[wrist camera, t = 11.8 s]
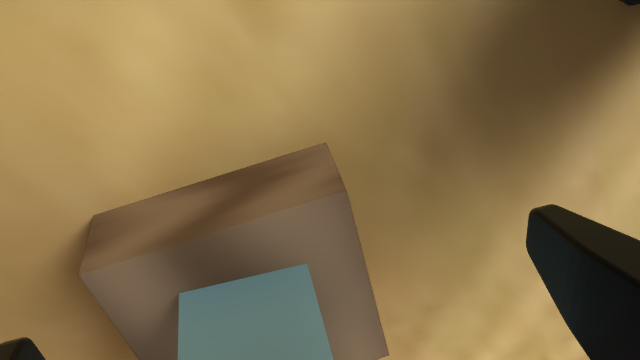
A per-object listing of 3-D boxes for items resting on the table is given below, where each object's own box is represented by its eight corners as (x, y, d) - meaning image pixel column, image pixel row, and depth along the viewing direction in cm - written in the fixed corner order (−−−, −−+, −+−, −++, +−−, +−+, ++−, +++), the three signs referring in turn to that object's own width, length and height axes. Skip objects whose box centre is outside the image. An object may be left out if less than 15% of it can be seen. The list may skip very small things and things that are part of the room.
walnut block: (324, 137, 22) (346, 190, 19) (366, 294, 28) (389, 355, 25) (95, 209, 22) (78, 275, 19) (185, 352, 28) (184, 422, 25)
